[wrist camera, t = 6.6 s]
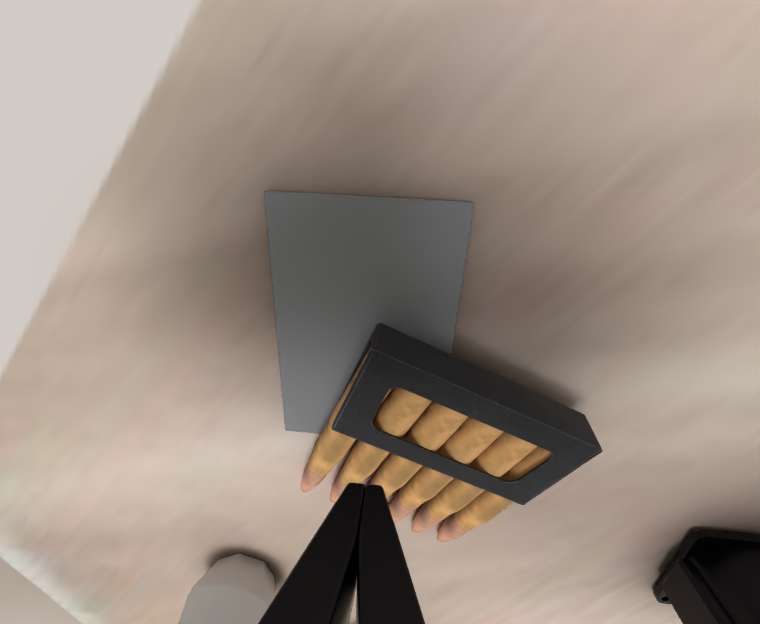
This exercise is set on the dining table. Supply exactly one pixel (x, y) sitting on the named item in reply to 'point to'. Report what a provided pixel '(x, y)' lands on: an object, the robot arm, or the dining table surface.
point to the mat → (357, 285)
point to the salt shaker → (231, 593)
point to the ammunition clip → (445, 436)
